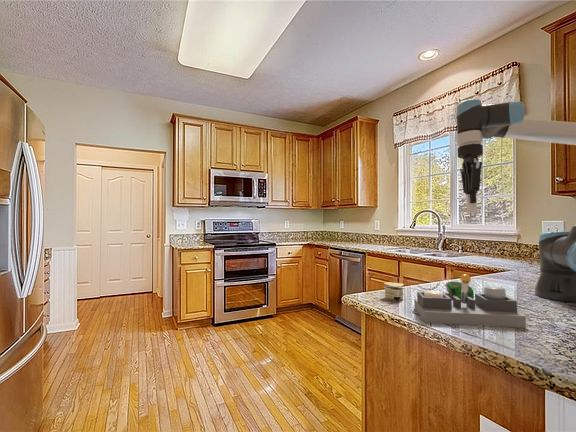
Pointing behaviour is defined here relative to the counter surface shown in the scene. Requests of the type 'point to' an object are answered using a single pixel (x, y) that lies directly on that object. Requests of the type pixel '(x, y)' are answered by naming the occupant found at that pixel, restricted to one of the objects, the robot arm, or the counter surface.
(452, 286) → the snack package
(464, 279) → the toggle lever
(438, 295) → the white button
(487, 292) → the grey blue button
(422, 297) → the control panel
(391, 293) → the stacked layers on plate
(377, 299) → the counter surface
